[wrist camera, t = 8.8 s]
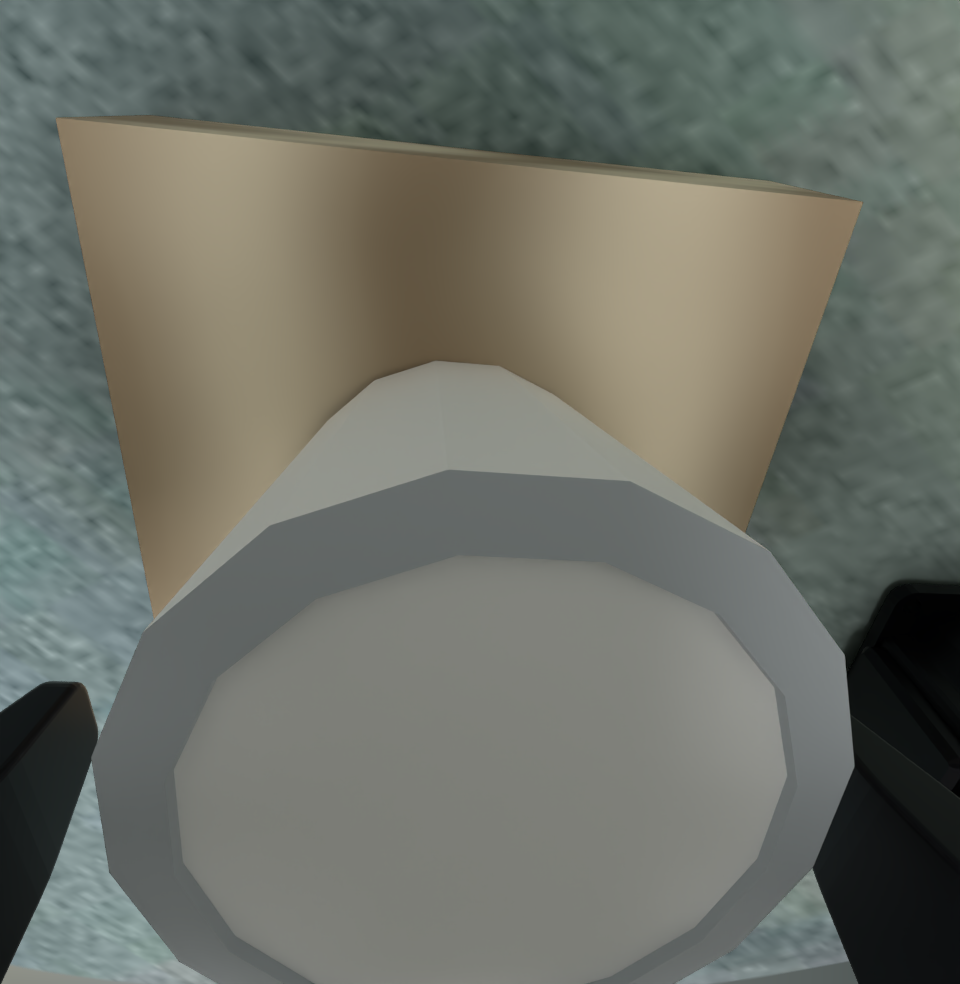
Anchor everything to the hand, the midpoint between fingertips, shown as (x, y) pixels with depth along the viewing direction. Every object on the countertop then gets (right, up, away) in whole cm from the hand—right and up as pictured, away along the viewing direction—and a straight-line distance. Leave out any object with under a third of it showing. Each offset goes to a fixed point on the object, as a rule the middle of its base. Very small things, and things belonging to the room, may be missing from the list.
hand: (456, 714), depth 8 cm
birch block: (0, +5, +8) cm, 9 cm away
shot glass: (0, +3, +4) cm, 5 cm away
